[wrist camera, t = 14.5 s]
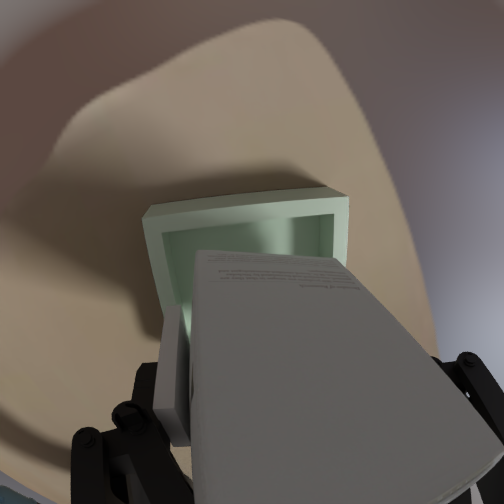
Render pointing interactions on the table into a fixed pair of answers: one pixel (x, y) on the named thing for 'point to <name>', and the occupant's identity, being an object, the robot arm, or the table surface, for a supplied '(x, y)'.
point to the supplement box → (318, 392)
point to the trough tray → (241, 233)
